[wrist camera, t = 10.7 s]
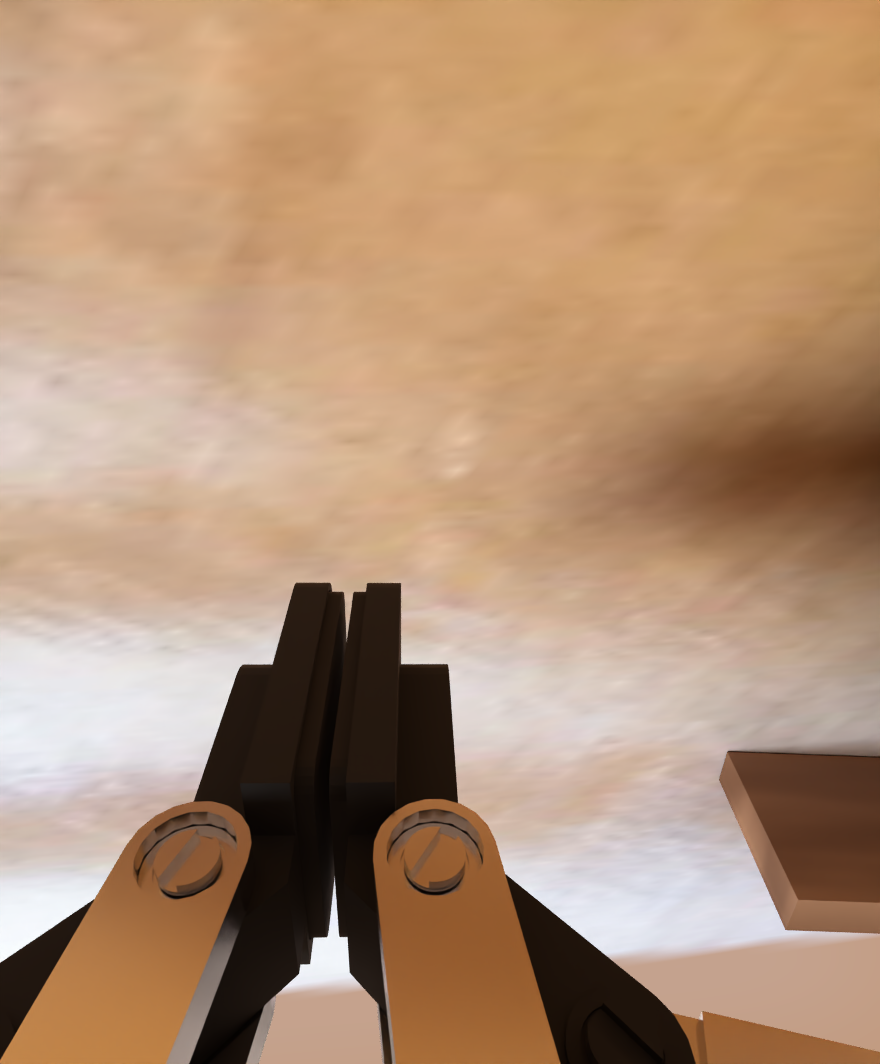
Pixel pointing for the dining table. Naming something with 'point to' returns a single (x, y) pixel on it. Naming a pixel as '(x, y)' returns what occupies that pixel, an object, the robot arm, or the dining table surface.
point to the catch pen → (812, 835)
